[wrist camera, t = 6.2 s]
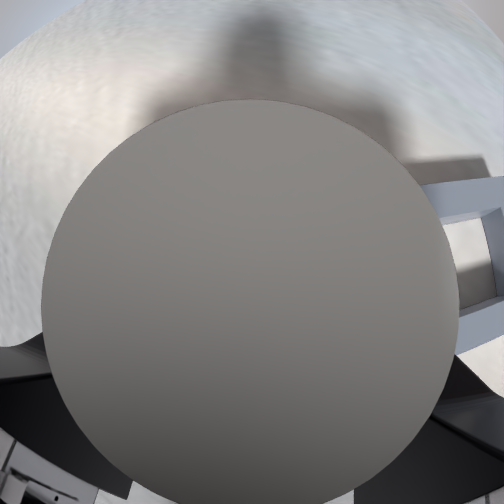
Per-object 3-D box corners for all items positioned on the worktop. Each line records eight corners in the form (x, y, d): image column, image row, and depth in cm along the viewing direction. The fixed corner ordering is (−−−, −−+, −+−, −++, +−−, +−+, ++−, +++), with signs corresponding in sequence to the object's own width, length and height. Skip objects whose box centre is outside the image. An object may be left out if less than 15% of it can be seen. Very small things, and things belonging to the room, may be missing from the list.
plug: (257, 371, 14) (171, 546, 2) (209, 292, 15) (9, 241, 3) (338, 322, 14) (510, 364, 2) (288, 243, 15) (294, 49, 3)
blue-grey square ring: (413, 357, 16) (431, 364, 13) (383, 203, 18) (397, 188, 15) (517, 316, 15) (538, 315, 12) (490, 188, 17) (508, 175, 14)
